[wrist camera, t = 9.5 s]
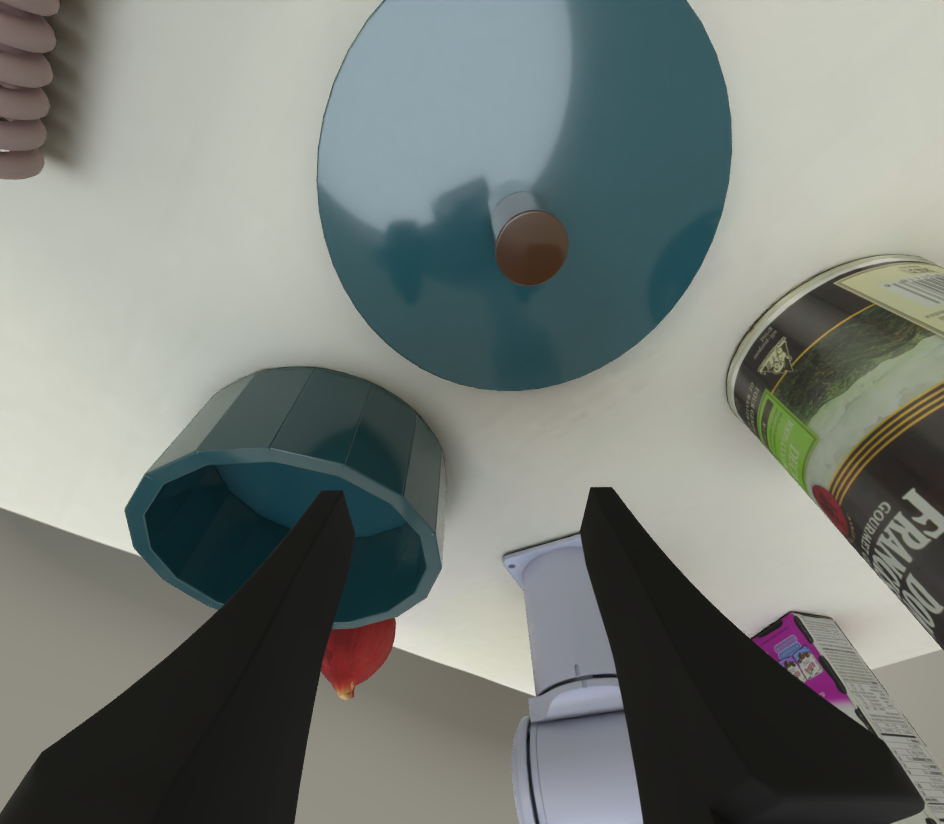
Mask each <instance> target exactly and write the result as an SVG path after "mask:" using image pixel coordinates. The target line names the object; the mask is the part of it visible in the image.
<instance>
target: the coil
mask: <svg viewBox="0 0 944 824" xmlns="http://www.w3.org/2000/svg"><path fill="white" fill-rule="evenodd" d="M59 8H60V3H59V0H0V85H1V86H3V87H5V88H2V87H0V116H1V117H4V118H5V119H6V120H8V121H3V120H1V119H0V149H5V150H9V151H10V152H0V179H26V178H29V177H32V176H35V175H37V174H39V173H40V172H41V171H42V168H43V166H44V158H43V156H42V153H41V151H40V150H39V148H38V147H40V146H42V145H44V143H45V141H46V138H47V132H46V129H45V126H44V124H43V123H42V121H41V120H40V119H39V118H42V117H44V116H46V115H47V113H48V111H49V109H50V103H49V100H48V97H47V95H46V94H45V92H44V91H43V90H42V89H41V88H40V87H43V86H46V85H48V84H50V82H51V80H52V78H53V72H52V69H51V65H50V64H49V62H48V61H47V59H46V58H45V57H44V56H43V55H42V53H46V52H49V51H52V50H53V49H54V48H55V45H56V43H57V42H56V37H55V34H54V31H53V29H52V28H51V26H50V25H49V24H48V23H47V21H46V20H45V19H44V18H43V17H42V16H51V15H54V14H56V13H58V11H59Z"/></svg>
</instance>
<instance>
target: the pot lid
mask: <svg viewBox="0 0 944 824" xmlns="http://www.w3.org/2000/svg"><path fill="white" fill-rule="evenodd" d="M731 156H732V133H731V115H730V108H729V102H728V95H727V88H726V84H725V81H724V77H723V74H722V71H721V67H720V64H719V61H718V57H717V54H716V52H715V50H714V48H713V45H712V43H711V41H710V39H709V37H708V35H707V33H706V31H705V28H704V26H703V24H702V22H701V21H700V19H699V18H698V16H697V15H696V14H695V12H694V11H693V9H692V8H691V6H690V5H689V3H688V2H687V0H383V2H382V3H381V4H380V5H379V6H378V7H377V9H376V10H375V11H374V12H373V13H372V15H371V16H370V17H369V18H368V19H367V21H366V22H365V24H364V26H363V27H362V29H361V30H360V32H359V34H358V35H357V37H356V38H355V40H354V42H353V43H352V45H351V46H350V48H349V50H348V52H347V54H346V56H345V58H344V60H343V63H342V65H341V67H340V69H339V72H338V74H337V76H336V78H335V80H334V83H333V86H332V89H331V93H330V96H329V99H328V103H327V106H326V109H325V113H324V116H323V122H322V128H321V134H320V140H319V146H318V161H317V191H318V204H319V213H320V218H321V223H322V228H323V233H324V238H325V241H326V245H327V248H328V251H329V254H330V257H331V260H332V263H333V266H334V268H335V270H336V272H337V274H338V277H339V279H340V281H341V283H342V285H343V287H344V289H345V291H346V293H347V294H348V296H349V297H350V299H351V301H352V302H353V304H354V306H355V307H356V309H357V310H358V312H359V313H360V314H361V315H362V317H363V318H364V319H365V321H366V322H367V323H368V324H369V326H370V327H371V328H372V329H373V330H374V331H375V332H376V333H377V334H378V335H379V336H380V337H381V338H382V339H383V340H384V341H385V342H386V343H387V344H388V345H389V346H390V347H392V348H393V349H394V350H395V351H397V352H398V353H399V354H400V355H401V356H403V357H404V358H406V359H407V360H409V361H410V362H412V363H414V364H415V365H417V366H418V367H420V368H421V369H424V370H426V371H428V372H430V373H432V374H434V375H436V376H438V377H440V378H443V379H446V380H449V381H452V382H455V383H458V384H461V385H465V386H470V387H474V388H479V389H488V390H497V391H521V390H530V389H539V388H544V387H548V386H553V385H557V384H561V383H564V382H567V381H570V380H573V379H576V378H579V377H581V376H584V375H586V374H588V373H590V372H593V371H595V370H597V369H599V368H601V367H603V366H604V365H606V364H608V363H609V362H611V361H613V360H615V359H616V358H618V357H620V356H621V355H622V354H624V353H625V352H626V351H628V350H629V349H631V348H632V347H633V346H635V345H636V344H637V343H638V342H640V341H641V340H642V339H643V338H644V337H645V336H646V335H647V334H649V333H650V332H651V331H652V330H653V329H654V328H655V327H656V326H657V325H658V324H659V323H660V322H661V321H662V320H663V318H664V317H665V316H666V315H667V314H668V313H669V312H670V311H671V310H672V308H673V307H674V306H675V304H676V303H677V302H678V300H679V299H680V298H681V296H682V295H683V294H684V292H685V291H686V290H687V288H688V287H689V285H690V283H691V282H692V280H693V278H694V277H695V275H696V273H697V272H698V270H699V268H700V267H701V265H702V262H703V260H704V258H705V256H706V254H707V252H708V250H709V247H710V245H711V243H712V241H713V238H714V235H715V232H716V229H717V226H718V223H719V221H720V218H721V215H722V211H723V207H724V202H725V198H726V193H727V189H728V184H729V175H730V165H731Z"/></svg>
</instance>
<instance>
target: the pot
mask: <svg viewBox="0 0 944 824" xmlns="http://www.w3.org/2000/svg"><path fill="white" fill-rule="evenodd" d="M446 484H447V483H446V475H445V463H444V458H443V454H442V450H441V448H440V446H439V443H438V441H437V439H436V437H435V436H434V434H433V432H432V431H431V429H430V428H429V426H428V425H427V424H426V423H425V422H424V420H423V419H422V418H421V417H420V416H419V415H418V414H417V413H416V412H415V411H414V410H413V409H412V408H411V407H410V406H409V405H407V404H406V403H405V402H403V401H402V400H401V399H399V398H398V397H396V396H395V395H393V394H392V393H390V392H388V391H386V390H385V389H383V388H381V387H379V386H377V385H375V384H373V383H370V382H368V381H366V380H364V379H361V378H358V377H355V376H352V375H349V374H346V373H342V372H337V371H332V370H328V369H320V368H311V367H285V368H276V369H269V370H265V371H261V372H257V373H254V374H251V375H249V376H246V377H244V378H241V379H239V380H237V381H236V382H234V383H232V384H231V385H229V386H227V387H226V388H225V389H223V390H221V391H219V392H217V393H216V394H214V396H213V397H212V398H211V399H210V400H209V401H208V402H207V404H206V405H205V406H204V407H203V408H202V409H201V410H200V412H199V413H198V414H197V415H196V416H195V417H194V418H193V420H192V421H191V422H190V423H189V424H188V425H187V426H186V427H185V429H184V430H183V431H182V432H181V433H180V434H179V435H178V437H177V438H176V439H175V440H174V441H173V442H172V443H171V445H170V446H169V447H168V448H167V449H166V450H165V451H164V453H163V454H162V455H161V456H160V457H159V458H158V459H157V461H156V462H155V463H154V464H153V465H152V466H151V467H150V469H149V470H148V471H147V472H146V473H145V474H144V476H143V478H142V479H141V481H140V483H139V485H138V486H137V488H136V490H135V491H134V493H133V495H132V497H131V498H130V500H129V502H128V504H127V505H126V507H125V515H126V519H127V523H128V527H129V531H130V535H131V539H132V544H133V547H134V549H135V550H136V551H137V552H138V553H139V554H140V555H141V556H142V557H143V559H144V560H145V561H146V562H147V563H148V564H149V565H150V566H151V567H152V568H153V569H154V570H155V572H156V573H157V574H158V575H159V576H160V577H161V578H162V579H163V580H164V581H166V582H168V583H169V584H171V585H173V586H174V587H176V588H178V589H179V590H181V591H183V592H185V593H186V594H188V595H190V596H191V597H193V598H195V599H197V600H198V601H200V602H202V603H203V604H205V605H207V606H209V607H212V608H215V609H218V610H219V609H220V608H221V607H222V606H223V605H224V604H225V603H226V602H227V601H228V600H229V599H230V598H231V597H232V596H233V595H234V594H235V593H236V592H237V591H238V590H239V589H240V588H241V587H242V586H243V585H244V583H245V582H246V581H247V580H248V579H249V578H250V577H251V576H252V575H253V573H254V572H255V571H256V570H257V569H258V568H259V567H260V566H261V565H262V563H263V562H264V561H265V560H266V559H267V558H268V557H269V555H270V554H271V553H272V552H273V551H274V550H275V548H276V547H277V546H278V545H279V543H280V542H281V541H282V540H283V539H284V537H285V536H286V535H287V534H288V533H289V531H290V530H291V529H292V528H293V526H294V525H295V524H296V522H297V521H298V520H299V519H300V517H301V516H302V515H303V514H304V512H305V511H306V510H307V508H308V507H309V506H310V504H311V503H312V502H313V500H314V499H315V498H316V496H317V495H318V494H319V493H320V492H321V491H322V490H343V492H344V496H345V499H346V503H347V506H348V510H349V514H350V517H351V521H352V524H353V528H354V531H355V540H354V546H353V552H352V558H351V563H350V569H349V572H348V576H347V579H346V583H345V586H344V589H343V593H342V596H341V600H340V603H339V606H338V610H337V613H336V616H335V620H334V623H333V626H332V629H352V628H358V627H361V626H365V625H369V624H373V623H376V622H380V621H384V620H388V619H391V618H395V617H398V616H399V615H401V614H402V613H404V612H405V611H407V610H408V609H410V608H411V607H413V606H414V605H416V604H418V603H419V602H421V601H422V600H424V599H425V598H426V597H427V596H428V594H429V592H430V590H431V588H432V586H433V584H434V582H435V581H436V579H437V577H438V575H439V573H440V571H441V569H442V558H443V539H444V521H445V502H446Z"/></svg>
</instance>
